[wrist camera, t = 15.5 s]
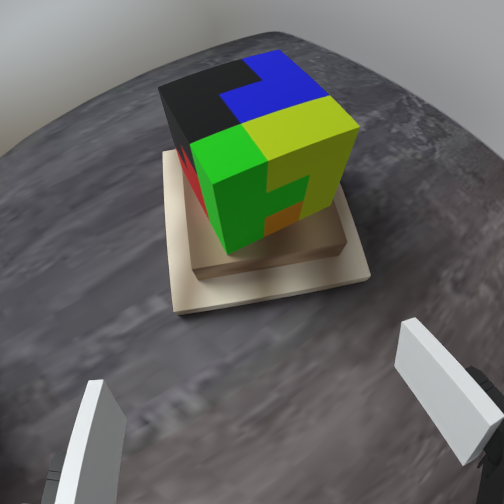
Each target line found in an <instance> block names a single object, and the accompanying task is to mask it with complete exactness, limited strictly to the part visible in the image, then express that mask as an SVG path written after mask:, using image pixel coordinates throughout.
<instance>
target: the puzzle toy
mask: <svg viewBox="0 0 504 504" xmlns="http://www.w3.org/2000/svg"><path fill="white" fill-rule="evenodd" d="M158 90H159V93H160V97H161V100H162V104H163V107H164V111H165V114H166V118H167V121H168V124H169V128H170V131H171V134H172V138H173V141H174V144H175V147H176V151H177V154H178V157H179V160H180V164H181V167H182V169H183V171H184V173H185V175H186V177H187V179H188V181H189V183H190V185H191V187H192V189H193V191H194V193H195V195H196V197H197V198H198V200H199V202H200V204H201V206H202V208H203V210H204V212H205V214H206V216H207V218H208V220H209V222H210V224H211V225H212V227H213V229H214V231H215V233H216V235H217V237H218V239H219V241H220V243H221V244H222V246H223V248H224V250H225V252H226V254H227V255H228V254H231V253H233V252H235V251H237V250H239V249H241V248H243V247H245V246H247V245H249V244H251V243H253V242H255V241H257V240H260V239H262V238H264V237H266V236H268V235H270V234H272V233H274V232H276V231H278V230H280V229H282V228H285V227H287V226H289V225H291V224H293V223H295V222H297V221H299V220H301V219H303V218H305V217H307V216H310V215H312V214H314V213H316V212H318V211H320V210H322V209H324V208H326V207H328V206H330V205H331V203H332V200H333V198H334V195H335V193H336V190H337V188H338V185H339V182H340V180H341V177H342V175H343V172H344V169H345V167H346V164H347V161H348V159H349V156H350V153H351V151H352V148H353V145H354V142H355V140H356V137H357V134H358V131H359V128H360V126H359V125H358V124H357V123H356V122H355V121H354V120H353V119H352V118H351V117H350V116H349V114H348V113H347V112H346V111H345V110H344V109H343V108H342V107H341V106H340V105H339V104H338V103H337V102H336V101H335V100H334V99H333V98H332V97H331V96H330V95H329V94H328V93H327V92H326V91H325V90H324V89H323V88H322V87H320V86H319V85H318V84H317V83H316V82H315V81H314V80H313V79H312V78H311V77H310V76H309V75H308V74H307V73H305V72H304V71H303V70H302V69H301V68H300V67H299V66H298V65H296V64H295V63H294V62H293V61H292V60H291V59H290V58H288V57H287V56H286V55H285V54H284V53H283V52H281V51H280V50H275V51H271V52H267V53H263V54H259V55H255V56H251V57H247V58H243V59H240V60H236V61H233V62H229V63H226V64H223V65H219V66H216V67H213V68H210V69H207V70H204V71H201V72H198V73H195V74H192V75H189V76H186V77H184V78H181V79H178V80H176V81H173V82H170V83H168V84H165V85H163V86H160V87H158Z"/></svg>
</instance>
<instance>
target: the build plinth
mask: <svg viewBox="0 0 504 504" xmlns="http://www.w3.org/2000/svg"><path fill="white" fill-rule="evenodd" d="M163 179H164V202H165V220H166V235H167V249H168V261H169V272H170V283H171V293H172V302H173V311H174V313H175V314H177V315H183V314H189V313H196V312H202V311H209V310H215V309H221V308H227V307H233V306H239V305H245V304H250V303H256V302H262V301H267V300H273V299H278V298H284V297H289V296H294V295H299V294H304V293H310V292H315V291H320V290H325V289H329V288H334V287H339V286H344V285H349V284H353V283H358V282H363V281H366V280H367V279H368V278H369V277H370V276H371V275H370V271H369V268H368V265H367V261H366V258H365V255H364V252H363V248H362V245H361V242H360V239H359V236H358V233H357V230H356V227H355V224H354V221H353V218H352V215H351V212H350V209H349V206H348V204H347V201H346V198H345V195H344V192H343V190H342V187H341V184H340V182H339V185H338V188H337V190H336V193H335V195H334V198H333V200H332V203H331V205H330V206H328V207H326V208H324V209H322V210H320V211H318V212H316V213H314V214H312V215H310V216H307V217H305V218H303V219H301V220H299V221H297V222H295V223H293V224H291V225H289V226H287V227H285V228H282V229H280V230H278V231H276V232H274V233H272V234H270V235H268V236H266V237H264V238H262V239H260V240H257V241H255V242H253V243H251V244H249V245H247V246H245V247H243V248H241V249H239V250H237V251H235V252H233V253H231V254H228V255H227V254H226V252H225V250H224V248H223V246H222V244H221V243H220V241H219V239H218V237H217V235H216V233H215V231H214V229H213V227H212V225H211V224H210V222H209V220H208V218H207V216H206V214H205V212H204V210H203V208H202V206H201V204H200V202H199V200H198V198H197V197H196V195H195V193H194V191H193V189H192V187H191V185H190V183H189V181H188V179H187V177H186V175H185V173H184V171H183V169H182V167H181V164H180V160H179V157H178V154H177V151H176V149H174V150H169V151H165V152H163Z"/></svg>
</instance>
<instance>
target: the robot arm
mask: <svg viewBox="0 0 504 504" xmlns="http://www.w3.org/2000/svg"><path fill="white" fill-rule="evenodd" d="M394 367H395V368H396V369H397V371H398V372H399V373H400V375H401V376H402V378H403V379H404V380H405V382H406V383H407V385H408V386H409V387H410V389H411V390H412V392H413V393H414V394H415V396H416V397H417V399H418V400H419V402H420V403H421V404H422V406H423V407H424V409H425V410H426V412H427V413H428V415H429V416H430V417H431V419H432V420H433V422H434V423H435V425H436V426H437V428H438V429H439V431H440V432H441V434H442V435H443V437H444V438H445V439H446V441H447V442H448V444H449V445H450V447H451V448H452V450H453V451H454V453H455V455H456V456H457V458H458V459H459V461H460V462H461V464H462V465H463V466H464V465H466V464H467V463H469V462H471V461H472V460H474V459H475V458H477V457H478V456H479V454H480V453H481V452H482V450H484V451H485V453H486V454H485V456H484V457H483V458H482V460H481V461H480V462H479V464H478V466H477V468H480V467H481V465H482V464H483V469H482V476H481V481H480V487H479V492H478V497H477V502H476V504H504V396H503V394H502V393H501V392H500V391H499V390H498V389H497V388H496V387H494V384H493V383H492V382H491V381H489V379H488V378H487V377H486V376H485V375H484V374H483V373H482V371H480V370H478V369H476V368H474V367H472V366H470V367H468V368H466V369H464V368H463V367H462V366H461V365H460V364H459V363H458V362H457V360H456V359H455V358H454V357H453V356H452V355H451V354H450V353H449V352H448V351H447V350H446V349H445V348H444V346H443V345H442V344H441V343H440V342H439V341H438V340H437V339H436V338H435V337H434V336H433V335H432V334H431V333H430V332H429V331H428V330H427V329H426V328H425V327H424V326H423V325H422V324H421V323H420V322H419V320H418V319H417V318H416V317H415V318H411V319H408V320H405V321H402V323H401V329H400V336H399V342H398V348H397V354H396V359H395V365H394ZM126 423H127V419H126V417H125V415H124V414H123V412H122V410H121V409H120V407H119V405H118V404H117V402H116V400H115V399H114V397H113V395H112V393H111V392H110V390H109V388H108V386H107V385H106V383H105V381H104V380H89V381H88V384H87V387H86V390H85V393H84V396H83V399H82V402H81V406H80V409H79V412H78V415H77V419H76V422H75V425H74V429H73V432H72V436H71V439H70V443H69V446H68V450H67V451H62V450H59V451H58V452H57V453H56V455H55V456H54V458H53V459H52V462H51V465H50V469H49V471H50V472H49V473H48V476H47V481H46V484H45V488H44V492H43V497H42V501H41V504H116V496H117V487H118V478H119V470H120V462H121V455H122V448H123V441H124V435H125V429H126ZM22 504H30V503H22Z"/></svg>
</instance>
